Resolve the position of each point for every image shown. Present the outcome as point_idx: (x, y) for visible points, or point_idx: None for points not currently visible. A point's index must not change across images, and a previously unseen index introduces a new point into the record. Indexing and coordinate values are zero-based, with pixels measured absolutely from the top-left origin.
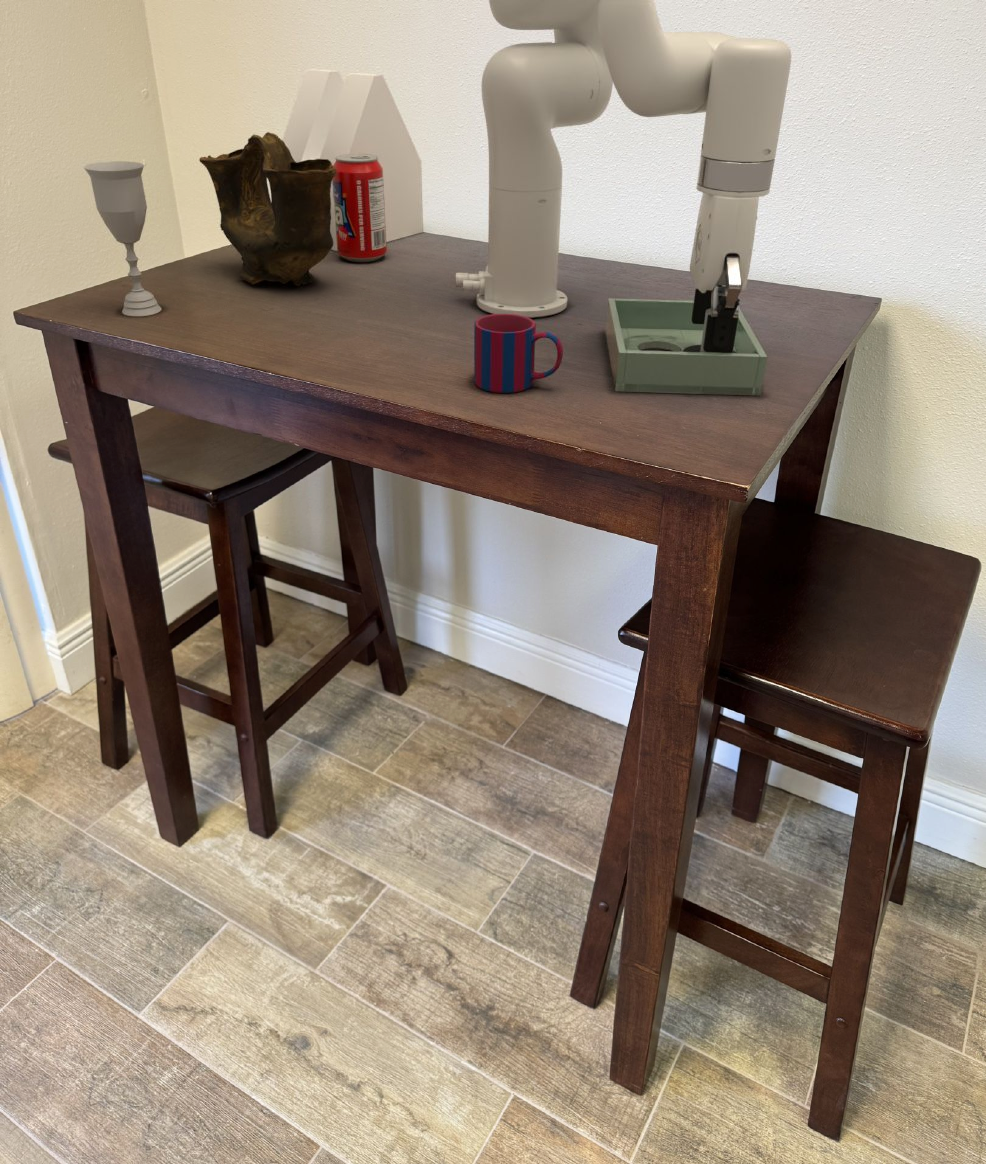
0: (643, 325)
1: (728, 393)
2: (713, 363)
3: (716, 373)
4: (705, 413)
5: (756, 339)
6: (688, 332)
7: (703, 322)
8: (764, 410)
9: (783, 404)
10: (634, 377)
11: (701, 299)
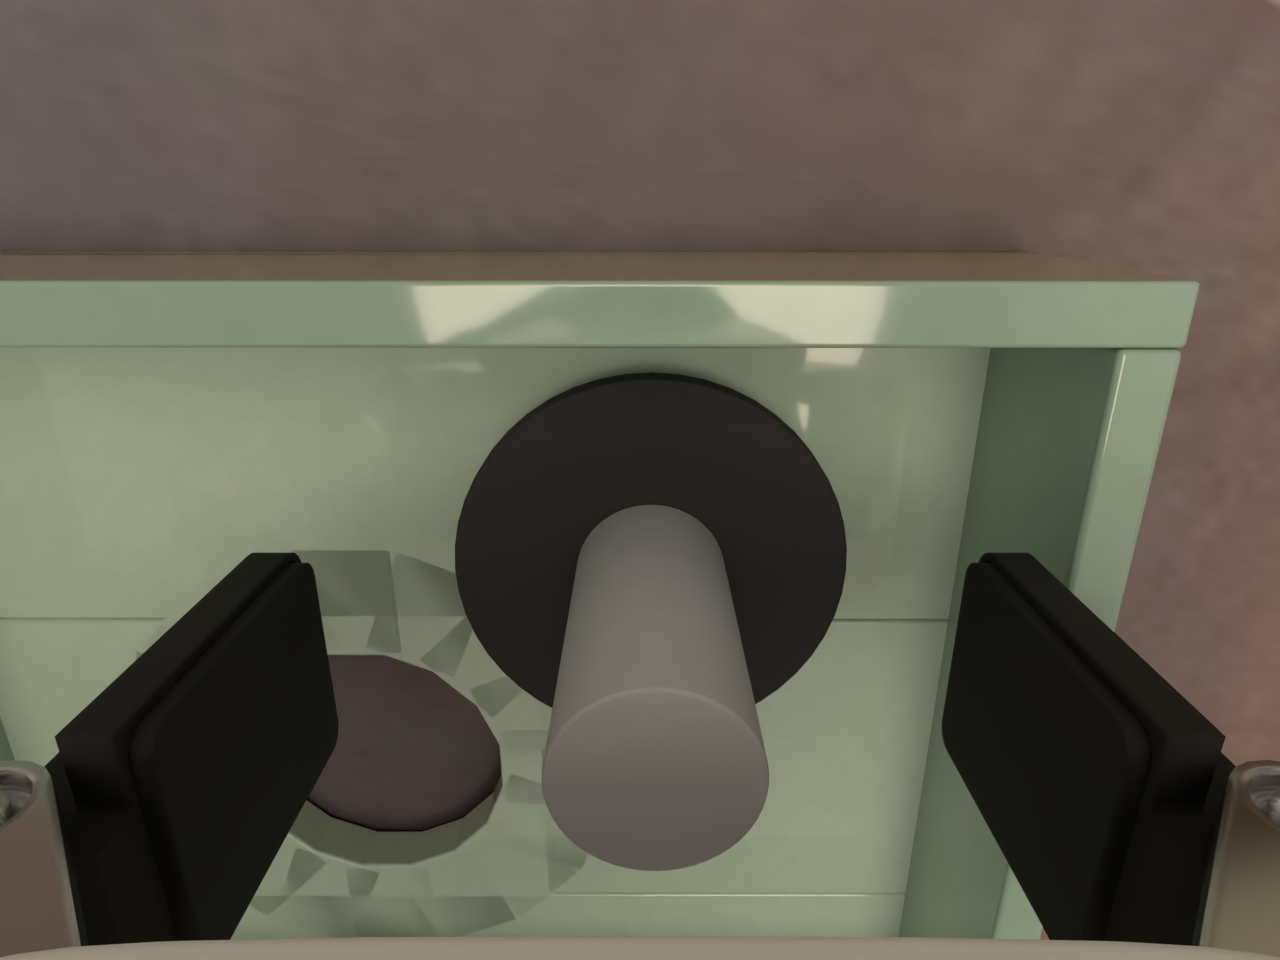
0: None
1: None
2: None
3: None
4: (1235, 603)
5: (728, 291)
6: (12, 576)
7: (328, 673)
8: (1258, 271)
9: (1185, 116)
10: None
11: (240, 859)
